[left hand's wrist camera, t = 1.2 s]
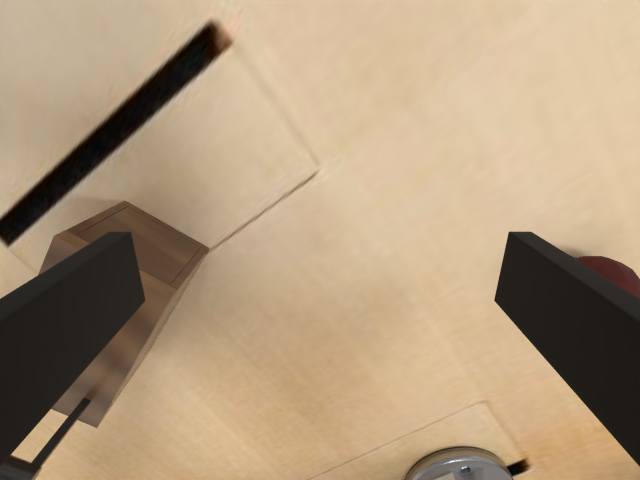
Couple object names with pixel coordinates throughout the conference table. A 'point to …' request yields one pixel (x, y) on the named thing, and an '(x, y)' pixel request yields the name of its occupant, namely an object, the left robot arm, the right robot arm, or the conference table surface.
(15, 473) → the lid
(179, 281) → the chest
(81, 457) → the conference table surface
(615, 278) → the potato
